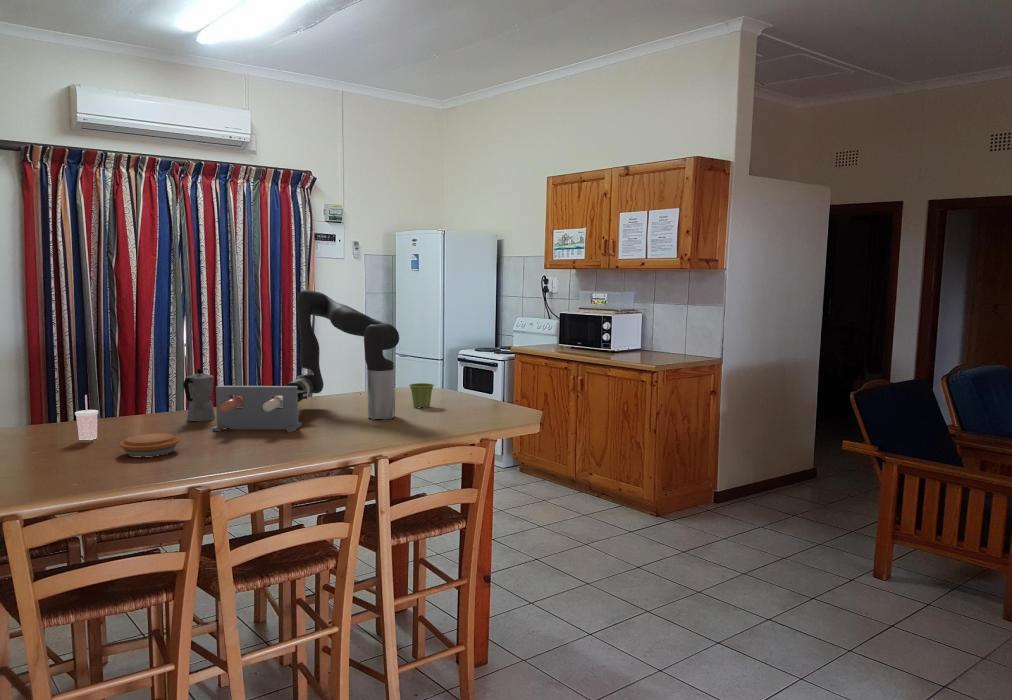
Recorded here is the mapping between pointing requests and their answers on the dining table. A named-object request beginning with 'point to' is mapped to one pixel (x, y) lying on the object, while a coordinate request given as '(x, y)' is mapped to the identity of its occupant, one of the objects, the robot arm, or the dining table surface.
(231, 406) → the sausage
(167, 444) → the pie
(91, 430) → the beverage cup
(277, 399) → the beige lever
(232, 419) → the panel
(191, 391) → the coffeepot
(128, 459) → the dining table surface
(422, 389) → the plant pot
